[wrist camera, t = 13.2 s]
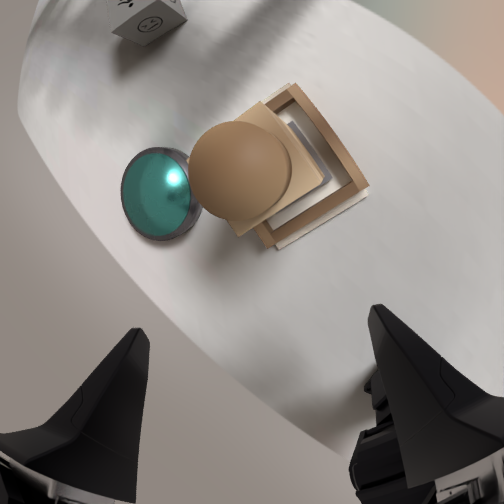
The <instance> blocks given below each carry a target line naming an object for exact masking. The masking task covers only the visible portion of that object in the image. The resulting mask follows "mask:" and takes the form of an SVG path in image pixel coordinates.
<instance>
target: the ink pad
mask: <svg viewBox="0 0 504 504" xmlns="http://www.w3.org/2000/svg"><path fill="white" fill-rule="evenodd" d="M188 158H189V156H187V155H186V154H185V153H183V152H181V151H179V150H177V149H174V148H166V147H154V148H149V149H146V150H143V151H142V152H140V153H138V154H137V155H136V156H135V157H134V158H133V159H132V160H131V161H130V163H129V164H128V166H127V168H126V170H125V172H124V174H123V178H122V183H121V202H122V206H123V209H124V212H125V215H126V217H127V219H128V220H129V222H130V224H131V225H132V226H133V227H134V228H135V230H136V231H138V232H139V233H140V234H141V235H143V236H145V237H147V238H149V239H152V240H156V241H165V240H170V239H173V238H175V237H177V236H179V235H181V234H182V233H184V232H186V231H187V230H189V229H190V228H191V227H192V226H193V225H194V224H195V222H196V221H197V219H198V218H199V216H200V213H201V211H202V208H203V206H202V205H201V204H200V203H199V202H198V200H197V199H196V197H195V196H194V194H193V192H192V189H191V186H190V183H189V178H188V163H187V161H186V160H187V159H188Z"/></svg>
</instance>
